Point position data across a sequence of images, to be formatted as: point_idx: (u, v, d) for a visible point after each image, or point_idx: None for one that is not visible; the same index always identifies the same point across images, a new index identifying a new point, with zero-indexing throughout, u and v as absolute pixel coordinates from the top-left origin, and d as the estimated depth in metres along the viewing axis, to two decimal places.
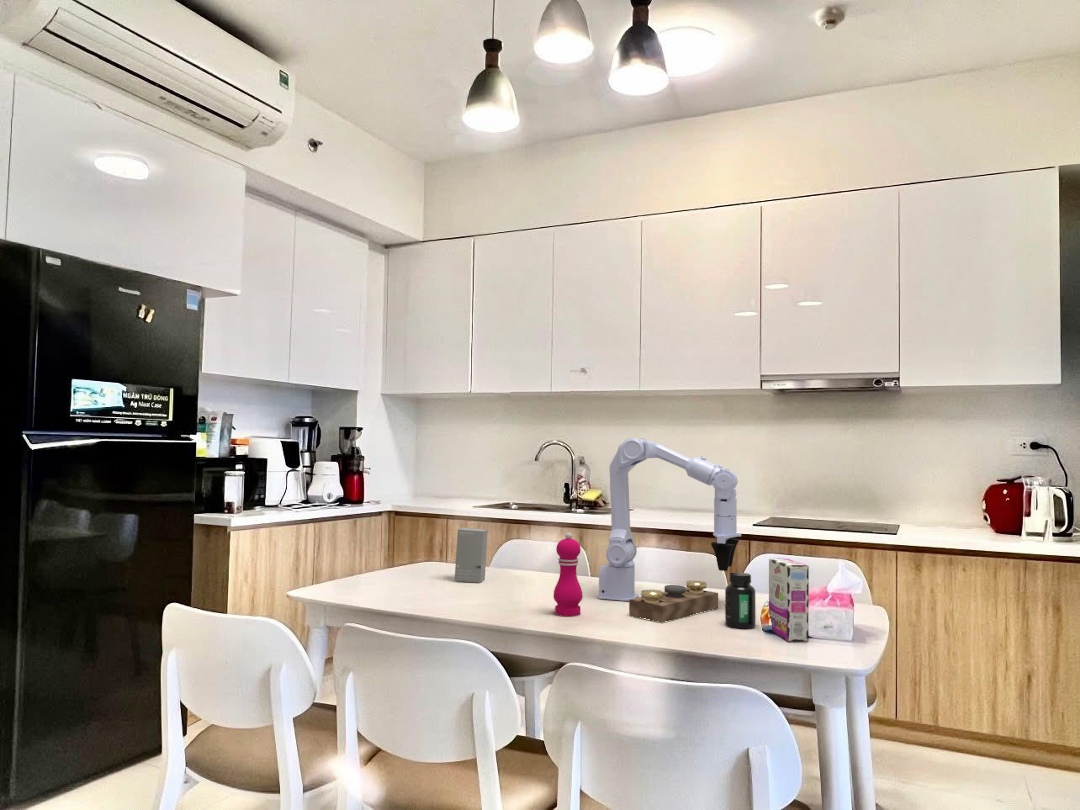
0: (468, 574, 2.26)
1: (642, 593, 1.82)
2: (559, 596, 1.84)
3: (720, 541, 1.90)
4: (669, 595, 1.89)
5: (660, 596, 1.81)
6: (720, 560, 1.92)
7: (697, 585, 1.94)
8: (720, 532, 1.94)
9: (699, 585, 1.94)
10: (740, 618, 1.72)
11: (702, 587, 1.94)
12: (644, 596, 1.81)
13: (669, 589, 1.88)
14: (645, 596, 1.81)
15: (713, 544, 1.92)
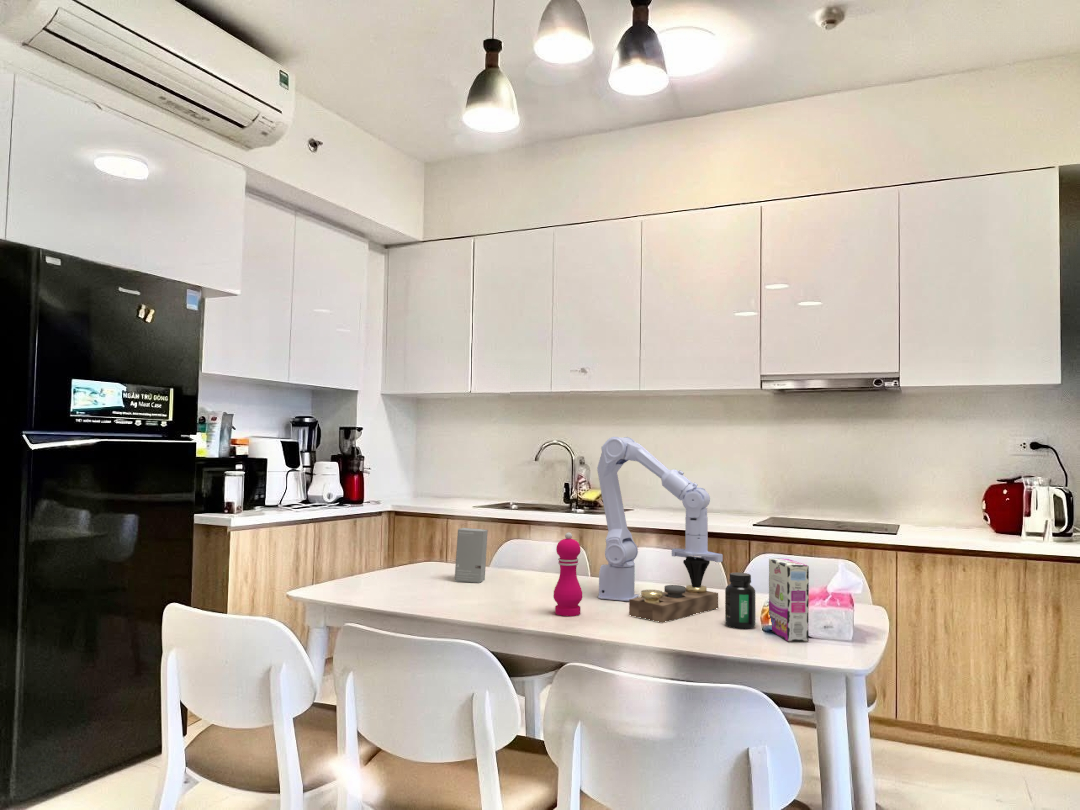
0: (468, 574, 2.26)
1: (642, 593, 1.82)
2: (559, 596, 1.84)
3: None
4: (669, 595, 1.89)
5: (660, 596, 1.81)
6: None
7: (697, 589, 1.94)
8: None
9: (699, 589, 1.94)
10: (740, 618, 1.72)
11: (702, 591, 1.94)
12: (644, 596, 1.81)
13: (669, 589, 1.88)
14: (645, 596, 1.81)
15: None
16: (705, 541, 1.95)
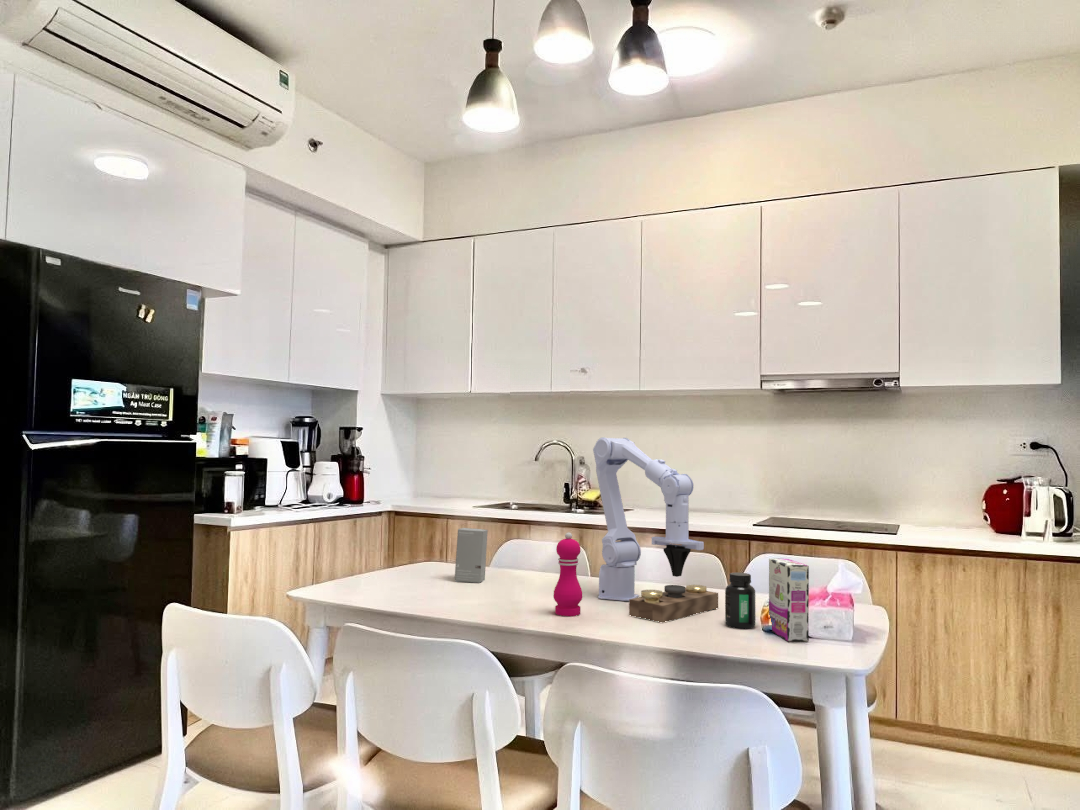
0: (468, 574, 2.26)
1: (642, 593, 1.82)
2: (559, 596, 1.84)
3: None
4: (669, 595, 1.89)
5: (660, 596, 1.81)
6: None
7: (697, 589, 1.94)
8: None
9: (699, 589, 1.94)
10: (740, 618, 1.72)
11: (702, 591, 1.94)
12: (644, 596, 1.81)
13: (669, 589, 1.88)
14: (645, 596, 1.81)
15: None
16: (686, 528, 1.89)
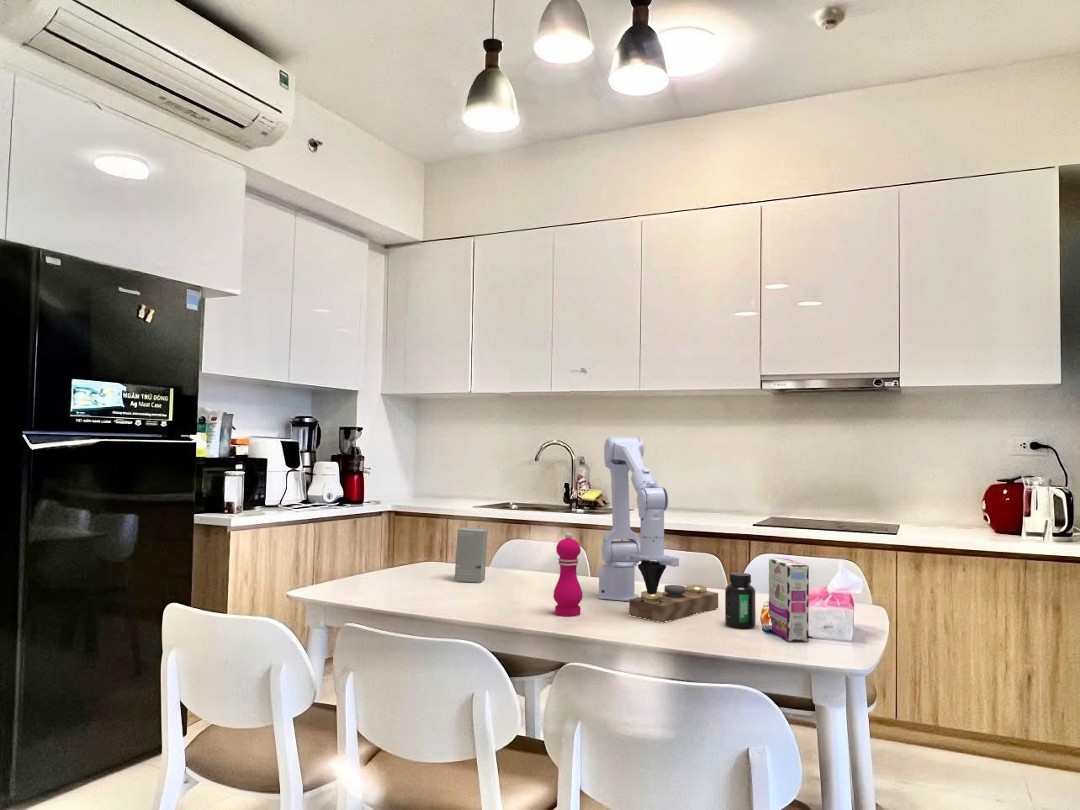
0: (468, 574, 2.26)
1: (642, 594, 1.82)
2: (559, 596, 1.84)
3: None
4: (669, 595, 1.89)
5: (660, 597, 1.81)
6: None
7: (697, 589, 1.94)
8: None
9: (699, 589, 1.94)
10: (740, 618, 1.72)
11: (702, 591, 1.94)
12: (644, 597, 1.81)
13: (669, 589, 1.88)
14: (645, 597, 1.81)
15: None
16: (661, 544, 1.82)
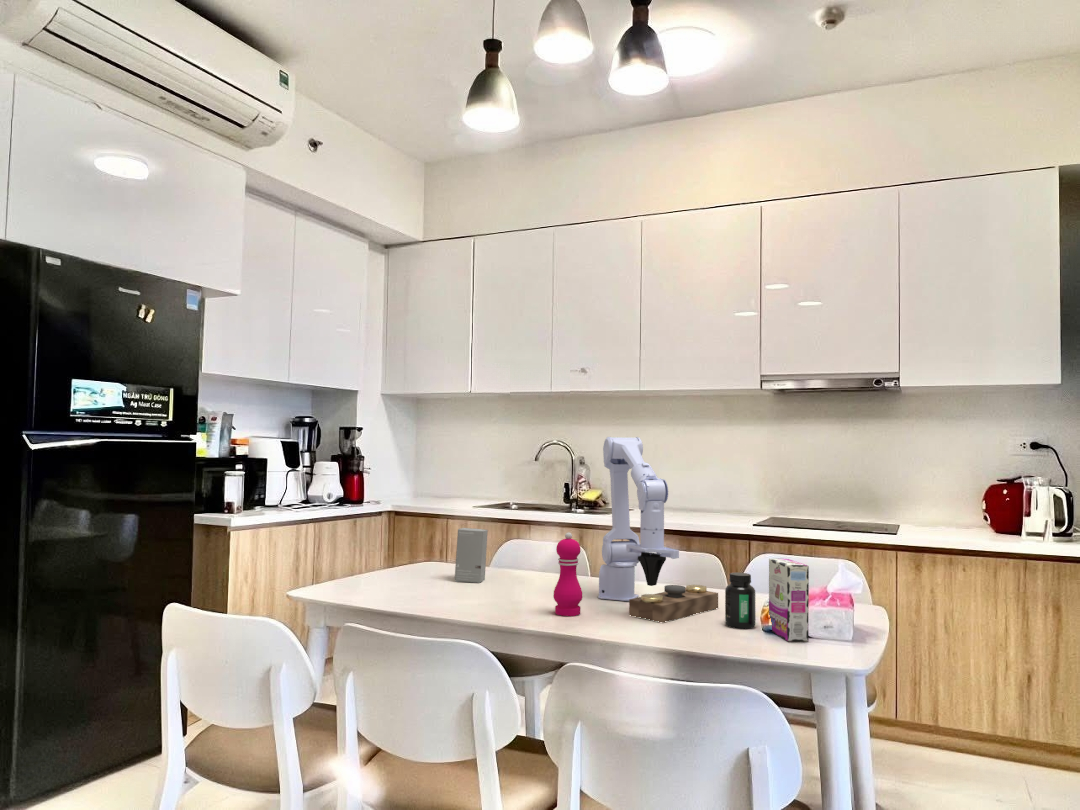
0: (468, 574, 2.26)
1: (642, 598, 1.82)
2: (559, 596, 1.84)
3: None
4: (669, 595, 1.89)
5: (660, 601, 1.81)
6: None
7: (697, 589, 1.94)
8: None
9: (699, 589, 1.94)
10: (740, 618, 1.72)
11: (702, 591, 1.94)
12: (644, 601, 1.81)
13: (669, 589, 1.88)
14: (645, 601, 1.81)
15: None
16: (661, 536, 1.82)
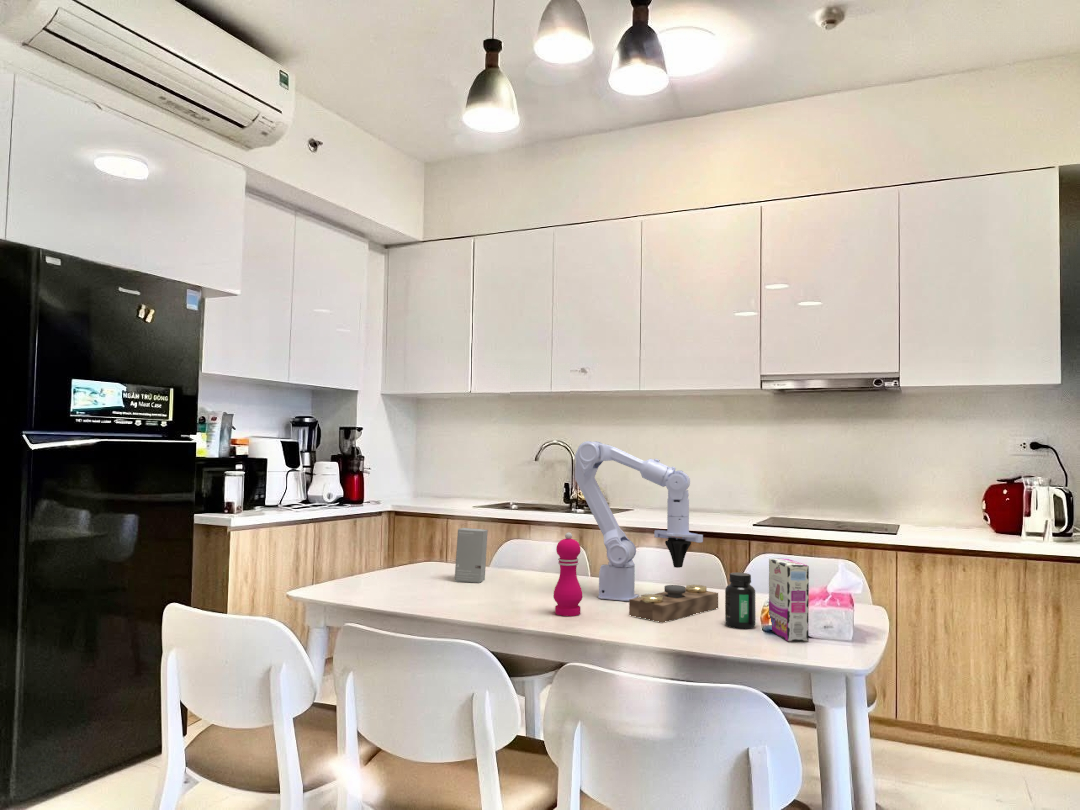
0: (468, 574, 2.26)
1: (642, 598, 1.82)
2: (559, 596, 1.84)
3: None
4: (669, 595, 1.89)
5: (660, 601, 1.81)
6: None
7: (697, 589, 1.94)
8: None
9: (699, 589, 1.94)
10: (740, 618, 1.72)
11: (702, 591, 1.94)
12: (644, 601, 1.81)
13: (669, 589, 1.88)
14: (645, 601, 1.81)
15: None
16: (686, 522, 2.00)
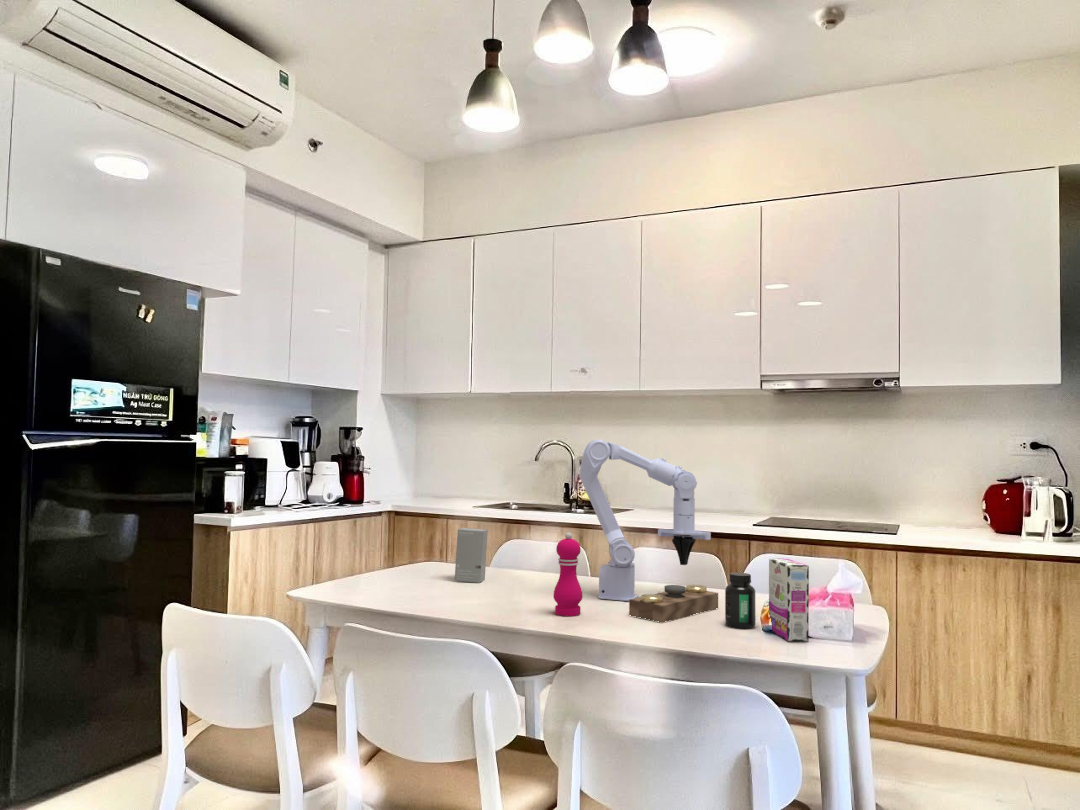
0: (468, 574, 2.26)
1: (642, 598, 1.82)
2: (559, 596, 1.84)
3: None
4: (669, 595, 1.89)
5: (660, 601, 1.81)
6: None
7: (697, 589, 1.94)
8: None
9: (699, 589, 1.94)
10: (740, 618, 1.72)
11: (702, 591, 1.94)
12: (644, 601, 1.81)
13: (669, 589, 1.88)
14: (645, 601, 1.81)
15: None
16: (693, 520, 2.05)
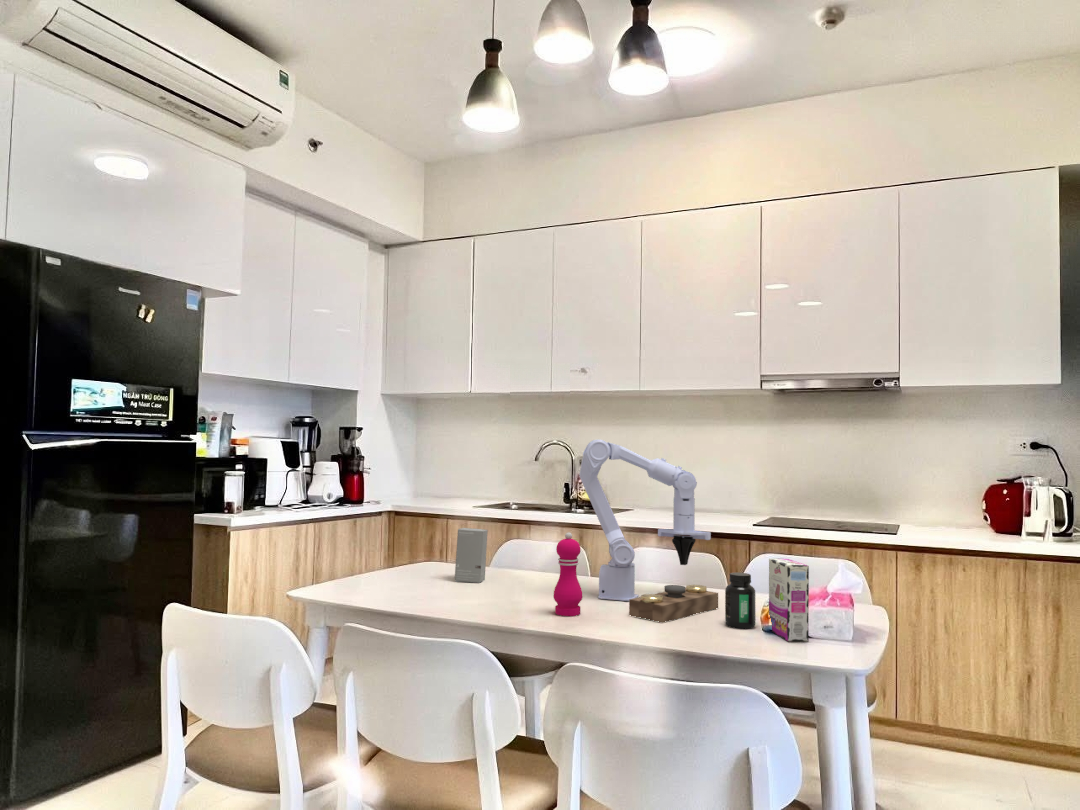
0: (468, 574, 2.26)
1: (642, 598, 1.82)
2: (559, 596, 1.84)
3: None
4: (669, 595, 1.89)
5: (660, 601, 1.81)
6: None
7: (697, 589, 1.94)
8: None
9: (699, 589, 1.94)
10: (740, 618, 1.72)
11: (702, 591, 1.94)
12: (644, 601, 1.81)
13: (669, 589, 1.88)
14: (645, 601, 1.81)
15: None
16: (693, 520, 2.05)
